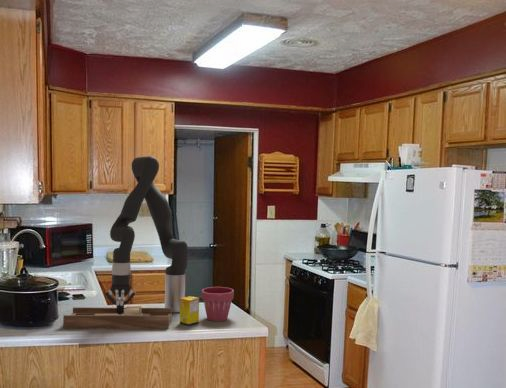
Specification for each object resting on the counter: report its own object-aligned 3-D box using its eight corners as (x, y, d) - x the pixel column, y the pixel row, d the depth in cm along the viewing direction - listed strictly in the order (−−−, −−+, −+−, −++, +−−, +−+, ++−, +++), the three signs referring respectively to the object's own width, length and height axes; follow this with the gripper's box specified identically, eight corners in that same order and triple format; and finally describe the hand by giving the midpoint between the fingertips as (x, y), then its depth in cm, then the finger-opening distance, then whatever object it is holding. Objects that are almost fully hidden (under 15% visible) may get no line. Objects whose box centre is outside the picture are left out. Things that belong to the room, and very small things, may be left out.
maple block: (127, 315, 208) (127, 305, 208) (141, 315, 208) (141, 306, 208) (123, 318, 202) (124, 309, 202) (138, 319, 202) (138, 309, 202)
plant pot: (206, 324, 208) (207, 294, 208) (197, 315, 221) (198, 287, 221) (237, 321, 214) (238, 292, 214) (227, 313, 227) (227, 286, 227)
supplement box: (189, 320, 213) (189, 295, 213) (199, 323, 209) (199, 297, 209) (179, 323, 208) (179, 297, 208) (188, 326, 205) (189, 300, 204)
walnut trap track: (73, 318, 211) (73, 307, 211) (171, 319, 214) (171, 308, 214) (63, 328, 197) (63, 315, 197) (168, 328, 200) (168, 316, 200)
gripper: (138, 271, 210) (137, 312, 210) (107, 271, 208) (106, 311, 209) (135, 274, 202) (134, 316, 202) (103, 274, 201) (102, 316, 201)
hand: (120, 314), depth 205 cm, fingers closed
